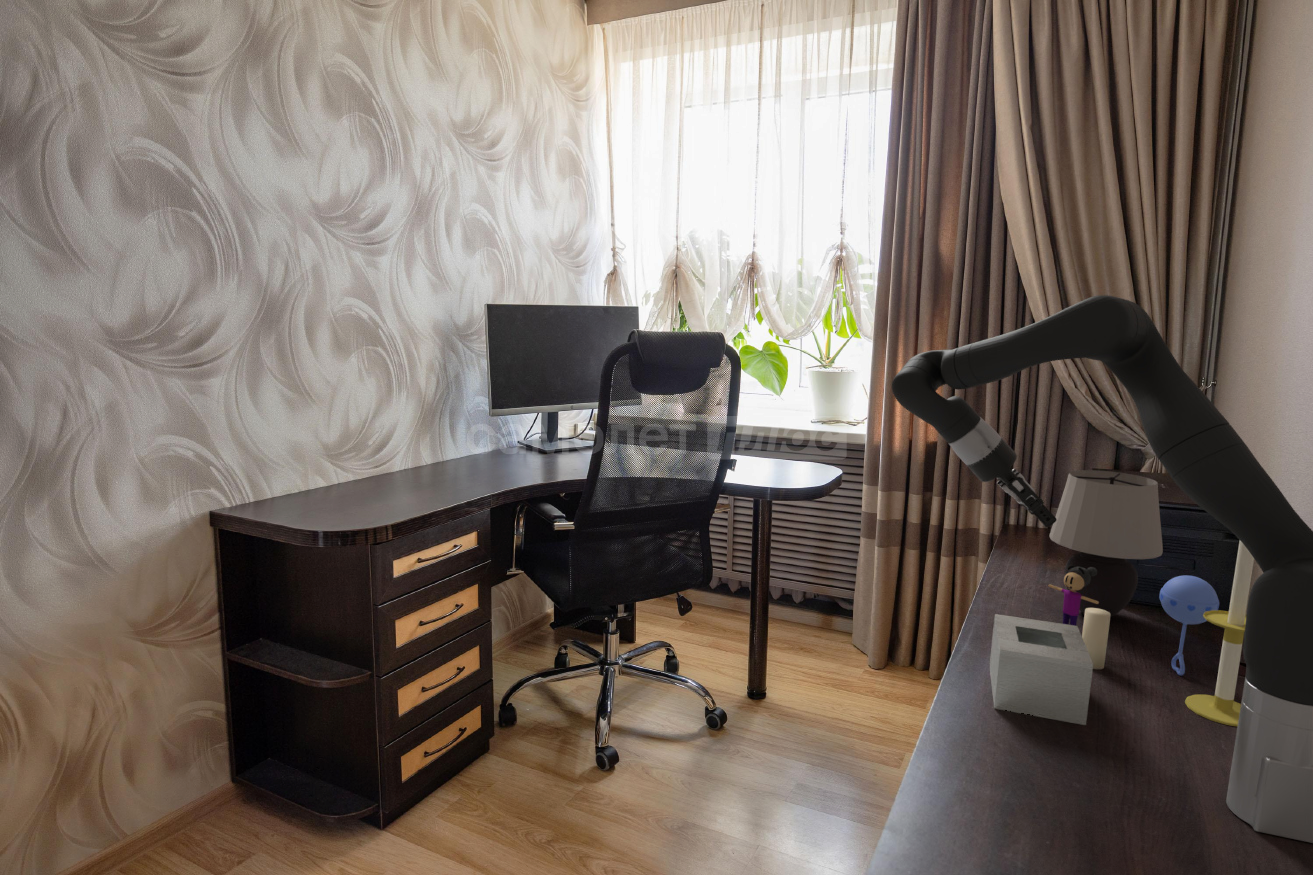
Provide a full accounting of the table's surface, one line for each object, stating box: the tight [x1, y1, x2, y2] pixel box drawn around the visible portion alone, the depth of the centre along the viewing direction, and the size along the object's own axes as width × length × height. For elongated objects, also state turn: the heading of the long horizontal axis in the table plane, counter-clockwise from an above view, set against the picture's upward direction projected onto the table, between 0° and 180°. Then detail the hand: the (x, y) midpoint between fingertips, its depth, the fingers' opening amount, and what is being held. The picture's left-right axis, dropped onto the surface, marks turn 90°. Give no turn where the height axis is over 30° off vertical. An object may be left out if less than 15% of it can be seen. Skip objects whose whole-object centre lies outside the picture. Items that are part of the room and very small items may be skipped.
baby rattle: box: [1158, 575, 1220, 676], centre depth 137 cm, size 9×9×18 cm
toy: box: [1047, 565, 1099, 626], centre depth 151 cm, size 10×6×15 cm, turn 27°
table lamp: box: [1049, 469, 1164, 618], centre depth 163 cm, size 21×21×30 cm
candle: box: [1184, 540, 1255, 728], centre depth 123 cm, size 10×10×32 cm
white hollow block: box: [989, 613, 1094, 726], centre depth 128 cm, size 16×13×10 cm
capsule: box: [1081, 608, 1111, 670], centre depth 140 cm, size 4×4×10 cm
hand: (1044, 517), depth 136 cm, fingers open, 8 cm apart
